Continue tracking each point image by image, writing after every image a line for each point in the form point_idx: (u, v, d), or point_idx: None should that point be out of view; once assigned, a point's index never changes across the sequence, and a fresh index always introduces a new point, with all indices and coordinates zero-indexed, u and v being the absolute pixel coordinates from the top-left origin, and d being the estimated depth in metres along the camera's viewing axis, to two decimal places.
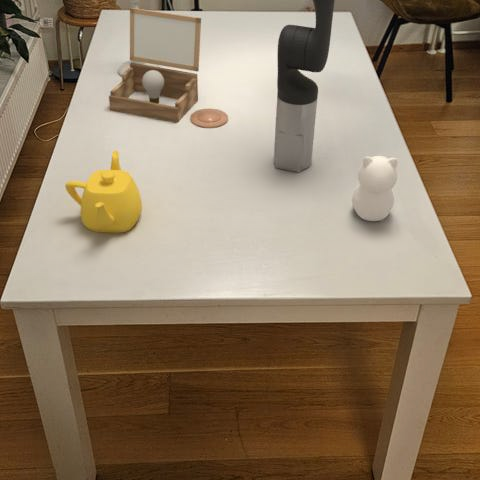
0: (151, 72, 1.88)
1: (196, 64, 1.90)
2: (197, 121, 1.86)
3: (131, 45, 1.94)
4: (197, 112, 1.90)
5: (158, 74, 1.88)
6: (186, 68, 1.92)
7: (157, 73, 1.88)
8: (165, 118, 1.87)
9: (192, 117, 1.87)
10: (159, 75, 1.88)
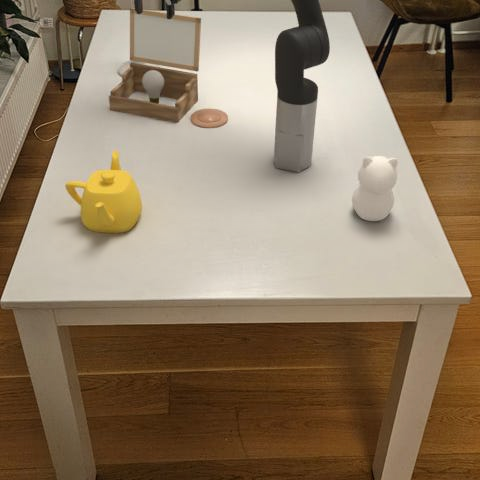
0: (151, 72, 1.88)
1: (196, 64, 1.90)
2: (197, 121, 1.86)
3: (131, 45, 1.94)
4: (197, 112, 1.90)
5: (158, 74, 1.88)
6: (186, 68, 1.92)
7: (157, 73, 1.88)
8: (165, 118, 1.87)
9: (192, 117, 1.87)
10: (159, 75, 1.88)
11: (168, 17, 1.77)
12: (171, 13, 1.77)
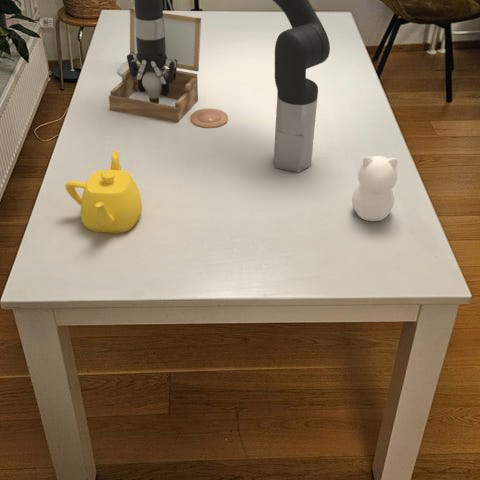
0: (151, 72, 1.88)
1: (196, 64, 1.90)
2: (197, 121, 1.86)
3: (131, 45, 1.94)
4: (197, 112, 1.90)
5: None
6: (186, 68, 1.92)
7: None
8: (165, 118, 1.87)
9: (192, 117, 1.87)
10: None
11: (163, 94, 1.90)
12: (166, 91, 1.89)
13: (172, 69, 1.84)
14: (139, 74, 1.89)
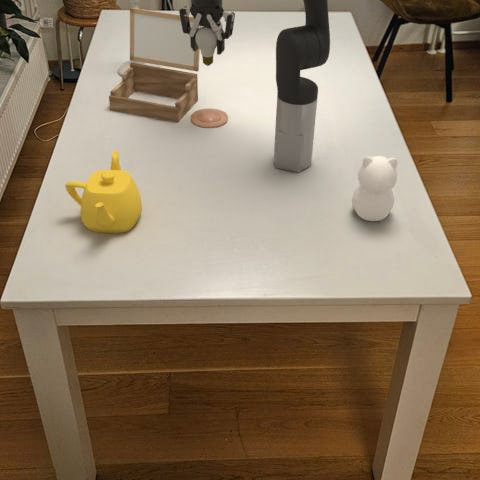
0: (205, 27, 1.72)
1: (196, 64, 1.90)
2: (197, 121, 1.86)
3: (131, 45, 1.94)
4: (197, 112, 1.90)
5: None
6: (186, 68, 1.92)
7: None
8: (165, 118, 1.87)
9: (192, 117, 1.87)
10: None
11: (218, 52, 1.74)
12: (221, 48, 1.74)
13: (230, 23, 1.69)
14: (192, 30, 1.73)
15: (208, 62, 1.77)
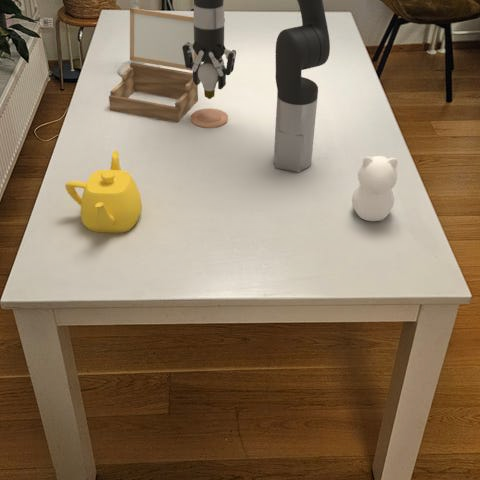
0: (208, 63, 1.78)
1: None
2: (197, 121, 1.86)
3: (131, 45, 1.94)
4: (197, 112, 1.90)
5: None
6: (186, 68, 1.92)
7: None
8: (165, 118, 1.87)
9: (192, 117, 1.87)
10: None
11: (219, 87, 1.80)
12: (222, 83, 1.80)
13: (231, 60, 1.75)
14: (195, 65, 1.79)
15: (209, 96, 1.83)
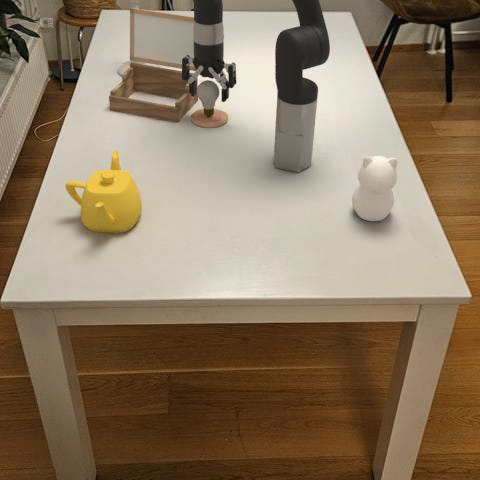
0: (206, 82, 1.81)
1: None
2: (197, 121, 1.86)
3: (131, 45, 1.94)
4: (197, 112, 1.90)
5: (213, 84, 1.81)
6: None
7: (212, 83, 1.81)
8: (165, 118, 1.87)
9: (192, 117, 1.87)
10: (214, 85, 1.81)
11: (223, 100, 1.82)
12: (226, 96, 1.82)
13: (231, 73, 1.77)
14: (192, 78, 1.81)
15: (209, 114, 1.86)
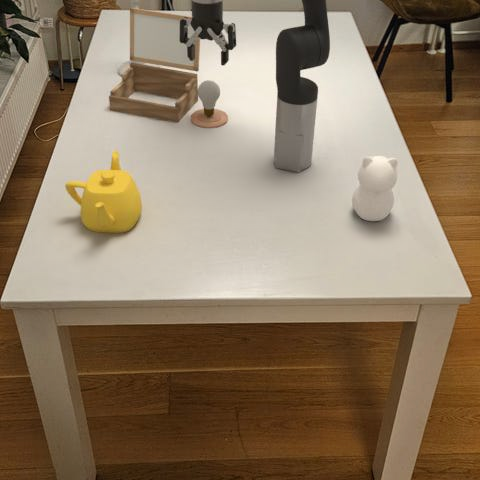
0: (207, 82, 1.81)
1: (196, 64, 1.90)
2: (197, 121, 1.86)
3: (131, 45, 1.94)
4: (197, 112, 1.90)
5: (215, 84, 1.81)
6: (186, 68, 1.92)
7: (213, 83, 1.81)
8: (165, 118, 1.87)
9: (192, 117, 1.87)
10: (216, 85, 1.82)
11: (222, 63, 1.76)
12: (225, 59, 1.75)
13: (231, 33, 1.70)
14: (190, 41, 1.75)
15: (209, 114, 1.86)
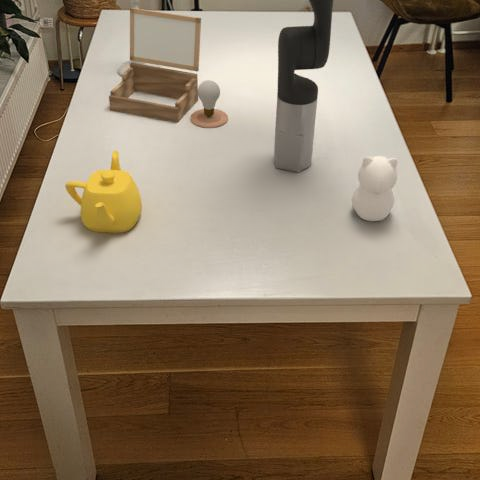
0: (207, 82, 1.81)
1: (196, 64, 1.90)
2: (197, 121, 1.86)
3: (131, 45, 1.94)
4: (197, 112, 1.90)
5: (214, 84, 1.81)
6: (186, 68, 1.92)
7: (213, 83, 1.81)
8: (165, 118, 1.87)
9: (192, 117, 1.87)
10: (215, 85, 1.81)
11: None
12: None
13: None
14: None
15: (209, 114, 1.86)
